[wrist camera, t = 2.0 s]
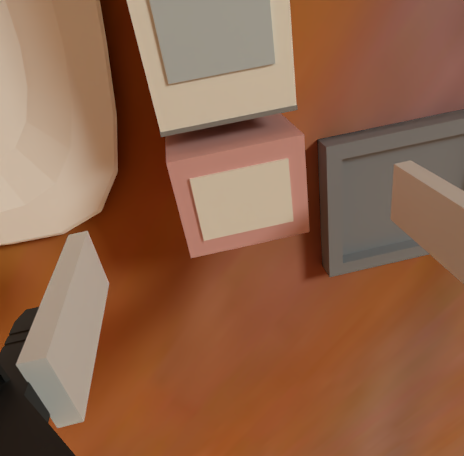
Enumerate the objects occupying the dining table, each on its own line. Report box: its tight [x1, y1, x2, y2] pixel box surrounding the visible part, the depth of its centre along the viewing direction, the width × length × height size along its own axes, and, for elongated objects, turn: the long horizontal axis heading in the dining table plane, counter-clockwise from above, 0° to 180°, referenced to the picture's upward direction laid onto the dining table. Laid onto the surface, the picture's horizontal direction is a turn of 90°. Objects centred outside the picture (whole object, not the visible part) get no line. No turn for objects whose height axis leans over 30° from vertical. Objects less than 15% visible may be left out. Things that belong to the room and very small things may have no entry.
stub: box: [165, 113, 310, 258], centre depth 20 cm, size 5×6×7 cm
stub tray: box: [317, 109, 464, 277], centre depth 26 cm, size 10×12×2 cm
